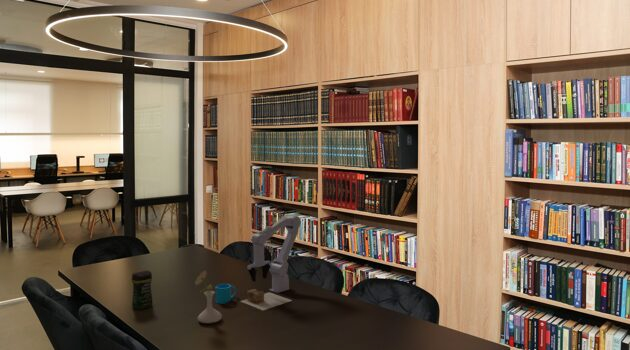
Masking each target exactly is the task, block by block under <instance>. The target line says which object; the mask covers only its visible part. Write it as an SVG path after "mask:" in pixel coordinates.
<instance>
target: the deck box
mask: <svg viewBox="0 0 630 350" xmlns="http://www.w3.org/2000/svg"><path fill="white" fill-rule="evenodd" d="M246 293H247V294H246V296H247V297H246V299H247V300H248V301H250V302H253V303H256V304H258V303H261V302H264V294H265V292H264V291H261V290H259V289H256V288H254V289H249V290H246Z"/></svg>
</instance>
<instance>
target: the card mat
mask: <svg viewBox="0 0 630 350" xmlns="http://www.w3.org/2000/svg"><path fill="white" fill-rule="evenodd" d="M292 301H293V300H291V299H290V298H286V297H283V296H281V295H277V294H275V293H272V292H270V291H269V292H264V302H261V303H258V304H256V303H253V302H250V301H248V300H247V298H246V299H243V300H240V303H243V304H246V305H248V306H250V307H251V306H252V307H253V308H255V309H258V310H261V311H266V310H269V309H271V308H274V307H277V306H280V305H283V304H287V303H289V302H292Z"/></svg>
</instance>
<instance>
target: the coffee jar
mask: <svg viewBox="0 0 630 350" xmlns="http://www.w3.org/2000/svg"><path fill="white" fill-rule="evenodd" d="M131 275H132V276H131V283H132V287H133V288H132V290H133V291H132V300H131V301H132V302H131V307H132V308H133V309H134V310H143V309H148V308H150V307H152V306H153V295H152V280H153V275H152V272H151V271H150V270H142V271H138V272H133V273H132V274H131Z"/></svg>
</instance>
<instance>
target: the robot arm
mask: <svg viewBox="0 0 630 350" xmlns="http://www.w3.org/2000/svg"><path fill="white" fill-rule="evenodd" d="M301 223H302V221H301V219H300V217H299V216H298V215H290V214H284V215H282V216H281V217H280V219H279V220H278V221H276V222H275V223H274V224H273V225H272V226H271V225H270V226H269V225H268V226H265V228H263V229H261V230H260V231H259V232H256V233H254V234H253V235H252V236H251V238H250V240H251V241H250V242H251V243H252V246H253V262H252V263H251V264H247V271H248V273H249V275H250V278H251V281H252V282H256V280H257V277H256V275H257V271H258V270H257V269H256V268H260V267H261V270H262V278H263V279H265V280H267V277H268V272H270V273H271V274H270V275H271V282H272V283H271V288H269V289H268V290H269V291H272V292H275V293H281V292H285V291H288V290H290V278H289V275H288V274H287V273H288V270H289V269H288V268H289V263H288V258H289V256H290V254H291V251H292V249H293V246H294V243H295V241H296V239H297V236H298V233H299V230H300V229H299V228H300V226H301ZM283 228H285V229H286V231H287V234H286V237H285V239H284V240H283V241H284V242H283V244H282V247H281V248H280V251H279V253H278V256H277V257H275V258H274V259H273V260H272V262H271V260H265V244H266V242H267V241H268V240H269V239H270V238H272V237H273V236H274V235H275V233H276V231H278V230H280V229H283Z"/></svg>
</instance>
